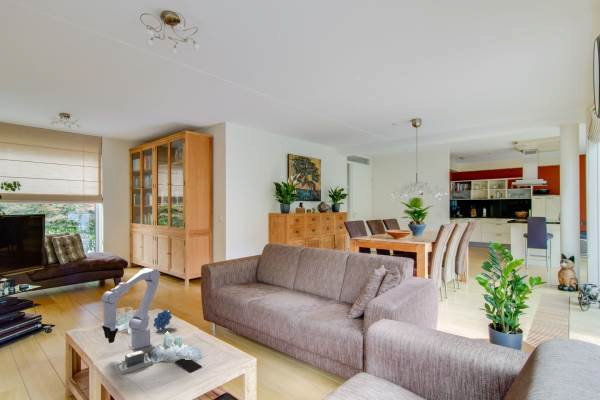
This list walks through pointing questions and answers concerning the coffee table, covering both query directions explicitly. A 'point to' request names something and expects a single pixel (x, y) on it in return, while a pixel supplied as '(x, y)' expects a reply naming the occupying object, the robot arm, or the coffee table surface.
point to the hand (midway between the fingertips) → (109, 340)
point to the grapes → (162, 319)
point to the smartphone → (188, 365)
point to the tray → (124, 369)
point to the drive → (134, 358)
